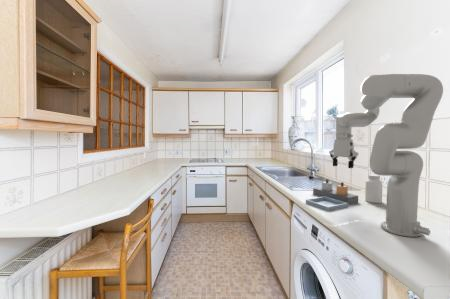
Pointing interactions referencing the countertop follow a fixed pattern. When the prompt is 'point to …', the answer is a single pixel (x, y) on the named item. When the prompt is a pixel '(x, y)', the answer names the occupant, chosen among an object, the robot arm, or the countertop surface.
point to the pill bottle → (373, 189)
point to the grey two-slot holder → (336, 195)
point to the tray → (326, 203)
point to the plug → (342, 189)
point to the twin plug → (327, 185)
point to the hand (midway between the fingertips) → (342, 167)
